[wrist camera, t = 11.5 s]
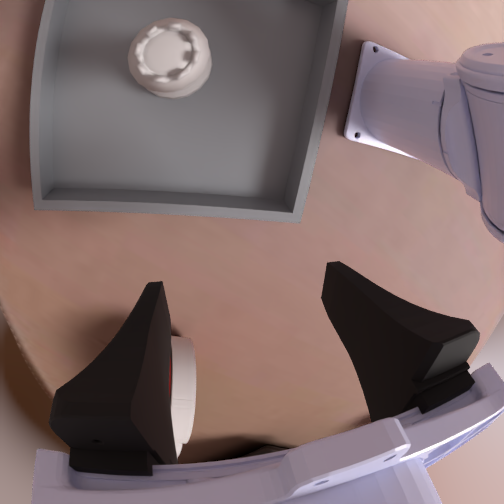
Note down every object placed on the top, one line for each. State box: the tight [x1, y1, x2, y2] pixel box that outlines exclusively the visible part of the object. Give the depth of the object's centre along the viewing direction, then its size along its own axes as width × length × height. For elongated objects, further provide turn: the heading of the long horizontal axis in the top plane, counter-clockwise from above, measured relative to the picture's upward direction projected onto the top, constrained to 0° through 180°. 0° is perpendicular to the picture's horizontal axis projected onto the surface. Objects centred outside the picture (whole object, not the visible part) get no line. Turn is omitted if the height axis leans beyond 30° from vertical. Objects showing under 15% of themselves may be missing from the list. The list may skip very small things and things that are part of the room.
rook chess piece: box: [127, 18, 213, 100], centre depth 12 cm, size 4×4×8 cm
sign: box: [169, 336, 196, 459], centre depth 28 cm, size 22×2×10 cm, turn 161°
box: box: [30, 0, 348, 223], centre depth 16 cm, size 18×16×3 cm
